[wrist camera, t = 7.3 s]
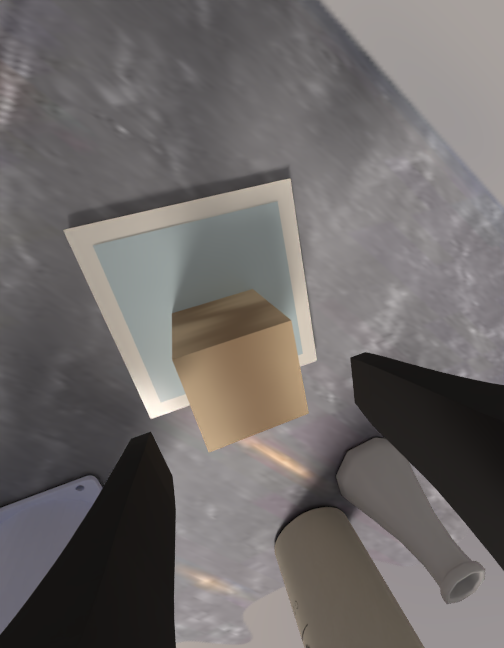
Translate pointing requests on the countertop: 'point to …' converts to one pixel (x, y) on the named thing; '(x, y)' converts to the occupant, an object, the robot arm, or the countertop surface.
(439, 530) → the flask
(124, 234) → the picture frame
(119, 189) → the countertop surface
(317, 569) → the travel mug
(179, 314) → the oak block
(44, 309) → the countertop surface
